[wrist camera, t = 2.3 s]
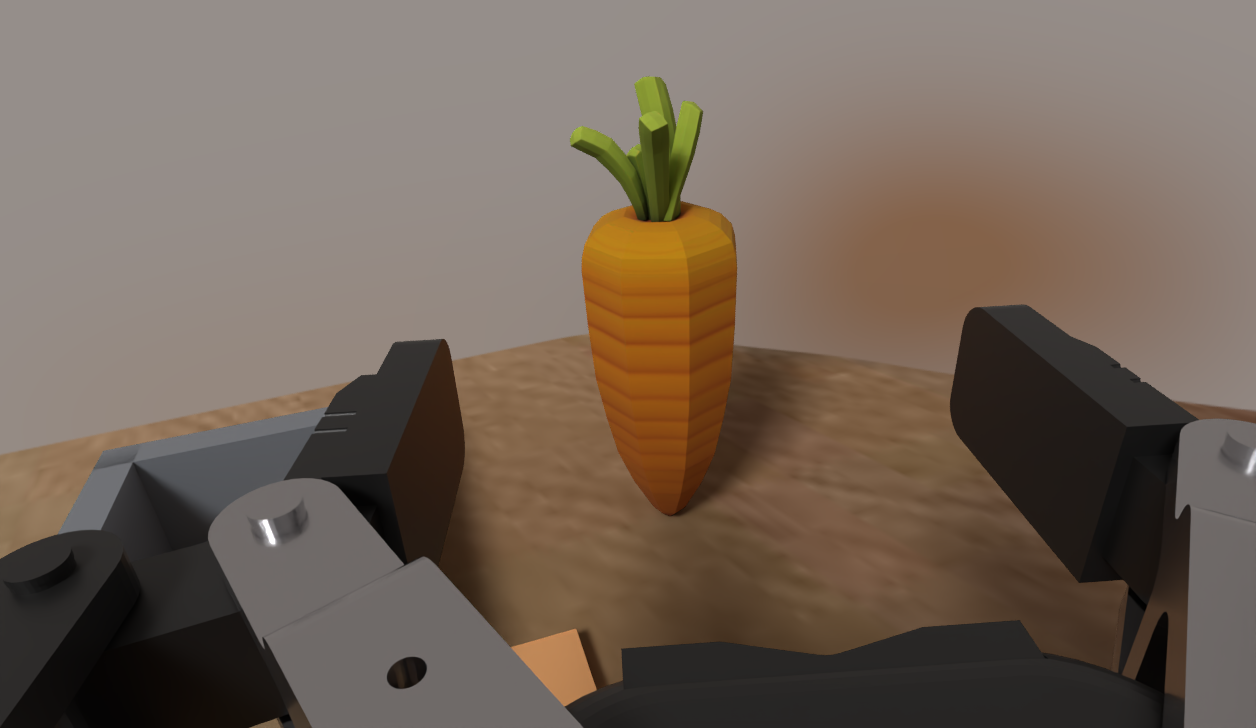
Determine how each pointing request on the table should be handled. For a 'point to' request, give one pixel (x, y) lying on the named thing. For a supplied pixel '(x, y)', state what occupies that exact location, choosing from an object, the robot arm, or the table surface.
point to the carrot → (660, 304)
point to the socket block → (220, 474)
